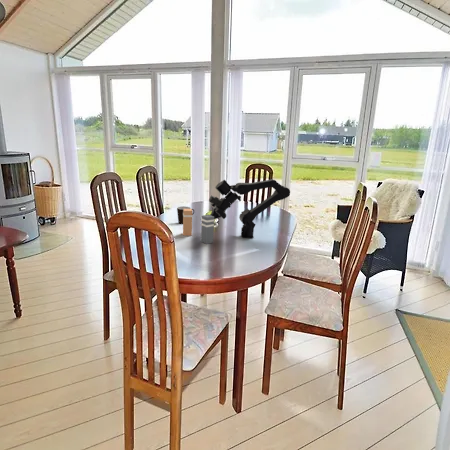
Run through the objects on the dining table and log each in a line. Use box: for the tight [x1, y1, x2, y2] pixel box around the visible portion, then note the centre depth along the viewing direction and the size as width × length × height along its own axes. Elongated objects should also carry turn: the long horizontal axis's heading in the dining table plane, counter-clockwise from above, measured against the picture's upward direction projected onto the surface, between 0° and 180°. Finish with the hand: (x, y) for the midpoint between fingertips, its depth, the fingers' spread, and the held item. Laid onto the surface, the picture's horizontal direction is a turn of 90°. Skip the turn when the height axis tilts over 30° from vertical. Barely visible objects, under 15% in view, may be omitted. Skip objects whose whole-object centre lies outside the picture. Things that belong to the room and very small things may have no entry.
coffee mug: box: [176, 205, 195, 225], centre depth 213 cm, size 12×9×10 cm
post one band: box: [182, 208, 194, 236], centre depth 186 cm, size 5×5×14 cm
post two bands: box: [200, 214, 215, 245], centre depth 175 cm, size 5×5×14 cm
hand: (207, 220), depth 188 cm, fingers closed
